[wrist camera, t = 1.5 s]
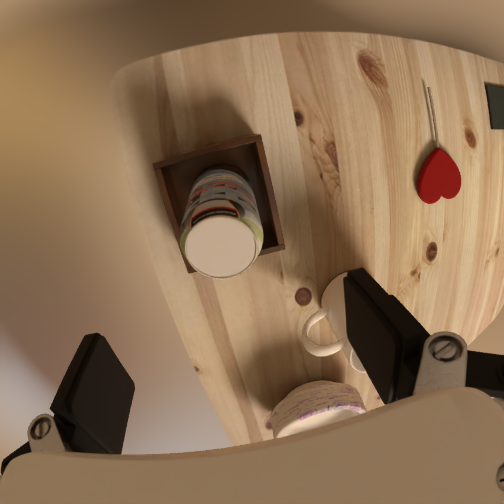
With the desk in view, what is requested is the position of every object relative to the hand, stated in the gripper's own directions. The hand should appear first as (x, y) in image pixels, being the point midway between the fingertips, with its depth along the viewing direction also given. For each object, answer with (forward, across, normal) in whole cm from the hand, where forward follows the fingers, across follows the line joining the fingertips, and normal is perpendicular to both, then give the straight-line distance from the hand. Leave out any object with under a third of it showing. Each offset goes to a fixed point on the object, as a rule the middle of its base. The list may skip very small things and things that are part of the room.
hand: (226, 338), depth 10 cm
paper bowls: (+22, -6, +36) cm, 42 cm away
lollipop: (+22, -28, -2) cm, 35 cm away
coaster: (+21, -45, -7) cm, 50 cm away
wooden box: (+22, 0, 0) cm, 22 cm away
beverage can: (+22, 0, 0) cm, 22 cm away
